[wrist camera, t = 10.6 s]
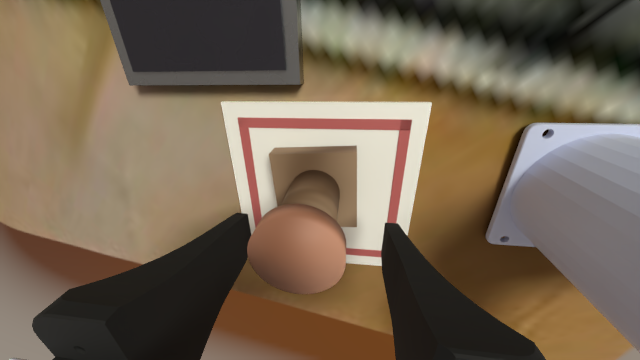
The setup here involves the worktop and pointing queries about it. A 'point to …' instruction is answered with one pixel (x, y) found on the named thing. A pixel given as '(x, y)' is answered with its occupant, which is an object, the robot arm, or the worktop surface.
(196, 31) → the ink pad
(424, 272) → the robot arm
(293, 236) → the stamp
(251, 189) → the marked sheet
